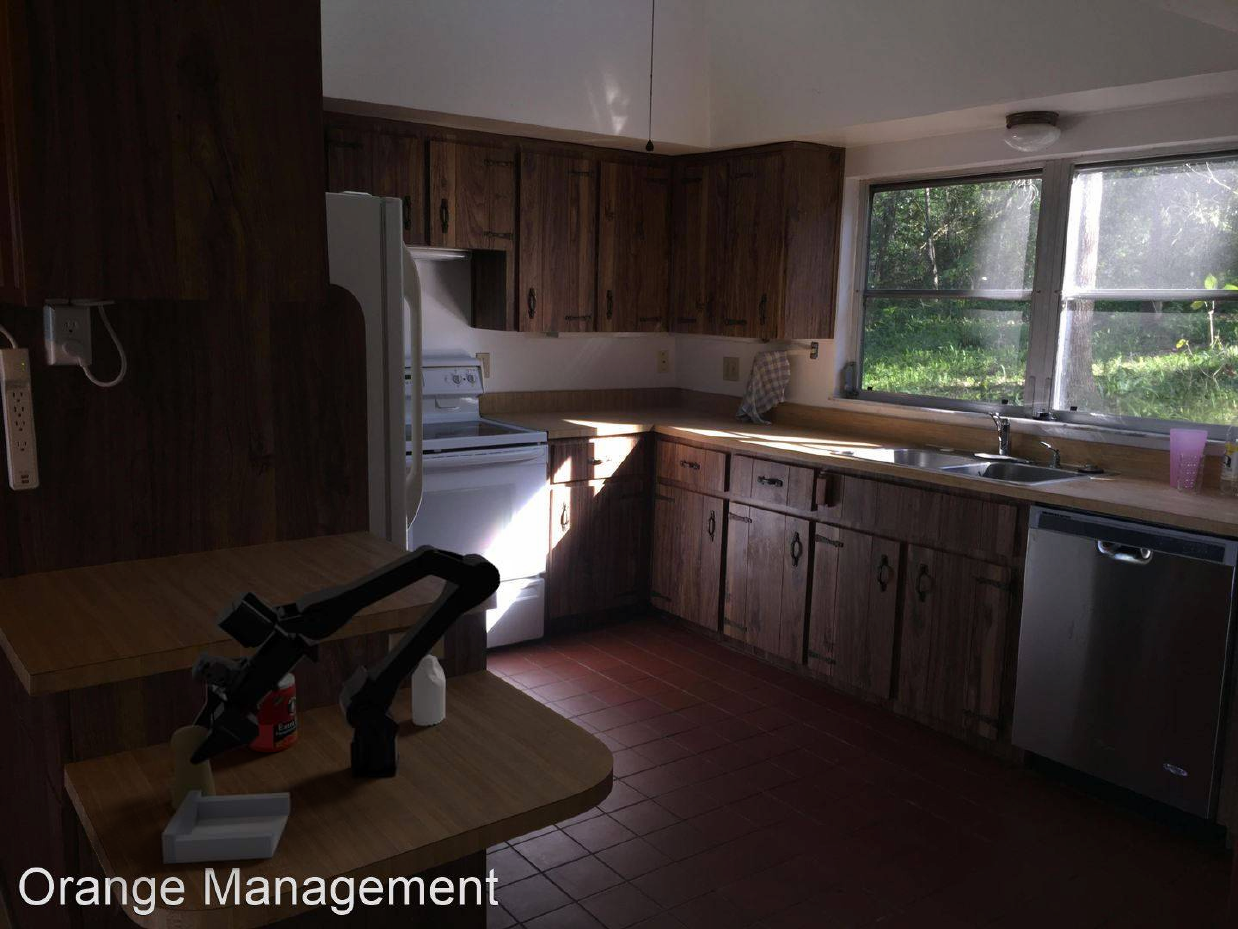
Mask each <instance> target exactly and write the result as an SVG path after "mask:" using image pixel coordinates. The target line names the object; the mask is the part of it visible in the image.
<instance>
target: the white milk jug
mask: <svg viewBox="0 0 1238 929" xmlns="http://www.w3.org/2000/svg"><path fill="white" fill-rule="evenodd" d="M446 681H447V680H446V676H445V673H444V669H443V667H442V666H441V665H440V663H439V661H438V658H437V657H436V656H435V655H434V656H433V655H431V654H426V656H425V657H424V658H423V659H422V660H421V661H420V662H419V664H418V665H417V668H416V669H415V671H414V672H413V674H412V675H411V705H412V706H411V709H412V710H411V711H412V723H413V724H414V725H416V726H419V725H420V726H421V727H426V726H427V727H428V725H430V726H434V725H433V724H436V725H439V724H441V723H442V722H441V721H442V720H443V719H444V718H445V719H446ZM440 722H441V723H440ZM438 723H439V724H438Z"/></svg>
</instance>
